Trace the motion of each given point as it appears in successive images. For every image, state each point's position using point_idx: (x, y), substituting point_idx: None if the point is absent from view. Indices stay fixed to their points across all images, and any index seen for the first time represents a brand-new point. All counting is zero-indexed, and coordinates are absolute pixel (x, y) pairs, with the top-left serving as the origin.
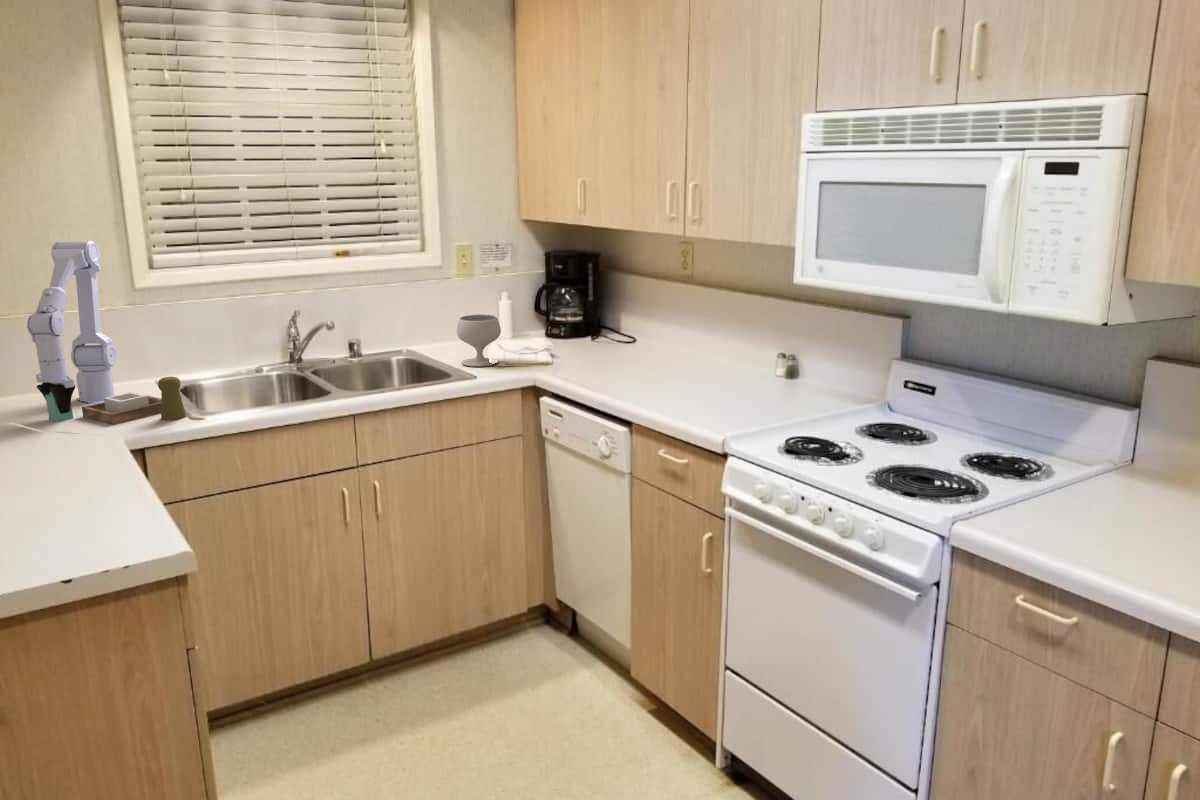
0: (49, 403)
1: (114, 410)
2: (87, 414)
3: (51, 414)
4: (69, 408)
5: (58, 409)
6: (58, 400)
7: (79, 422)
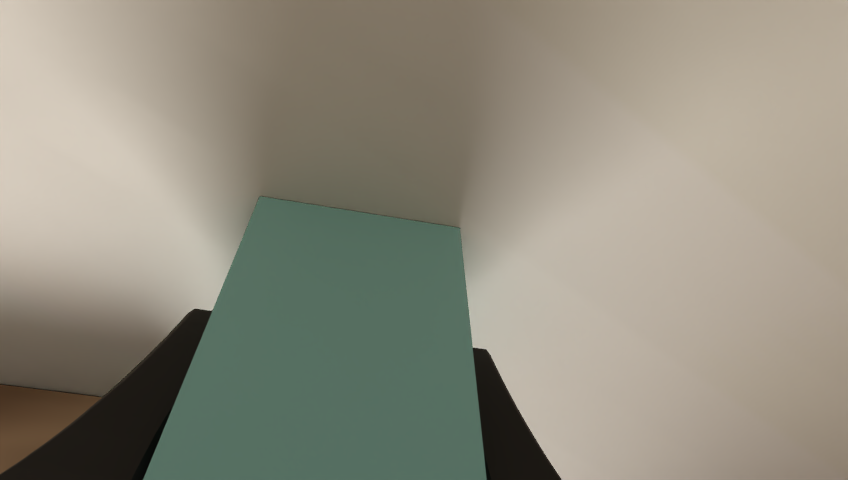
0: (372, 392)
1: None
2: None
3: (377, 273)
4: None
5: None
6: (43, 448)
7: (70, 306)
